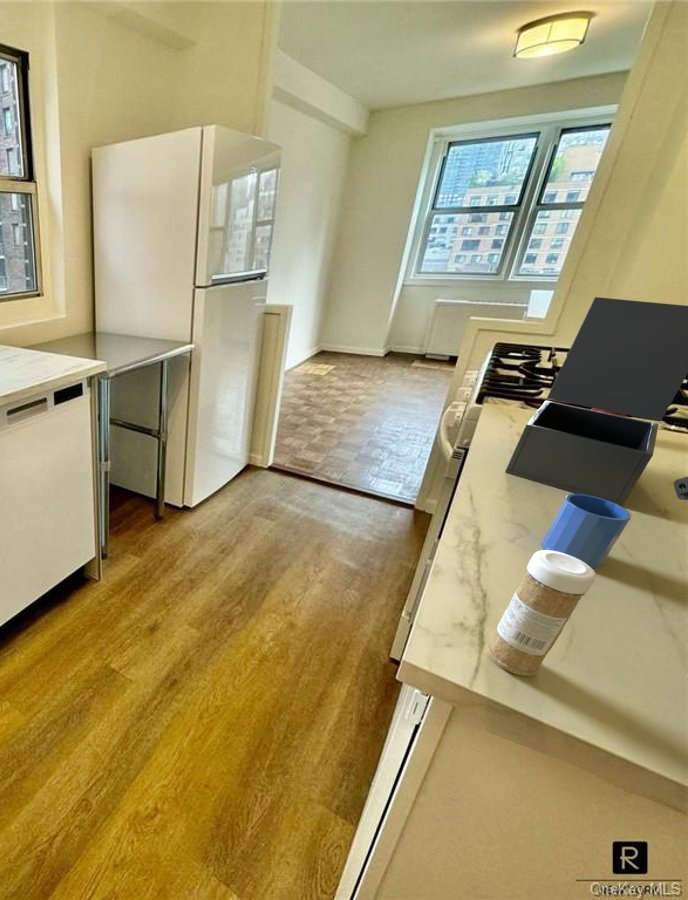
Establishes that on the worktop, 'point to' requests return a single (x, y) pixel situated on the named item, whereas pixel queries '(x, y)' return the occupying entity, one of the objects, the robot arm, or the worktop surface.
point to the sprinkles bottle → (539, 611)
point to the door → (626, 358)
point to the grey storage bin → (584, 451)
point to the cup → (586, 528)
